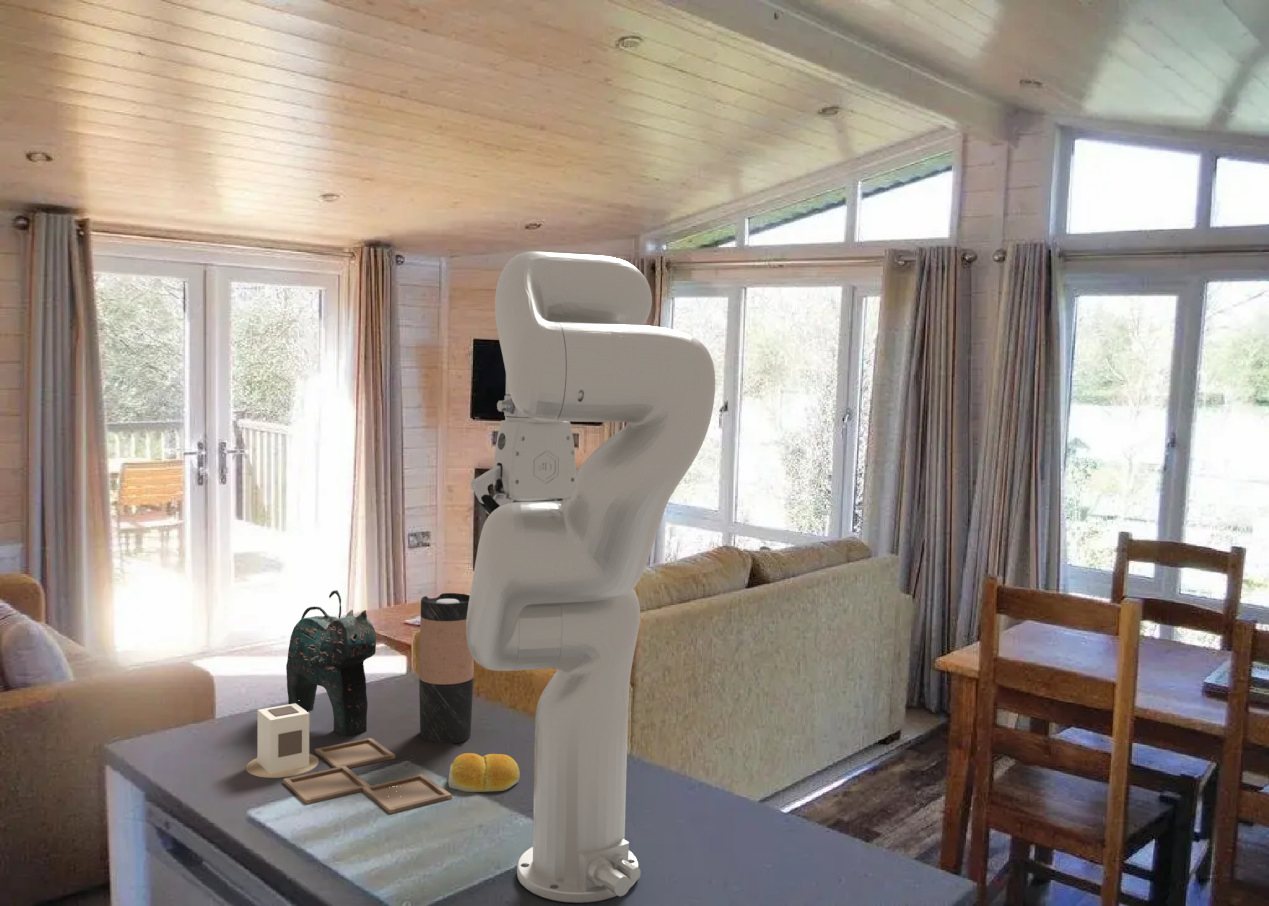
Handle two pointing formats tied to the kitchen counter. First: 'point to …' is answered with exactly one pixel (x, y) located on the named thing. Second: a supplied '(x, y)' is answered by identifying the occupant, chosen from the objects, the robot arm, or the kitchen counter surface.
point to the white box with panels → (283, 738)
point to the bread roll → (483, 772)
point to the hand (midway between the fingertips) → (532, 543)
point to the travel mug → (445, 669)
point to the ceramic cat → (332, 665)
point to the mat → (258, 770)
